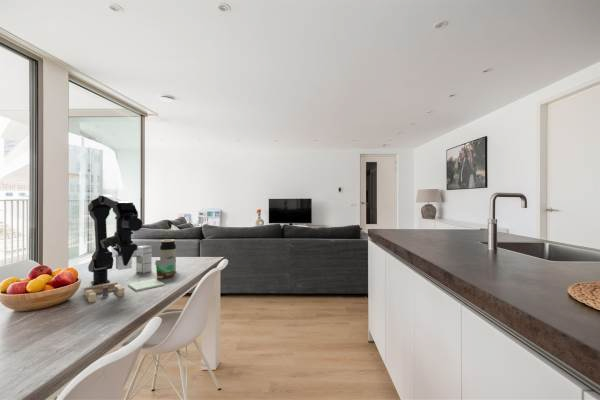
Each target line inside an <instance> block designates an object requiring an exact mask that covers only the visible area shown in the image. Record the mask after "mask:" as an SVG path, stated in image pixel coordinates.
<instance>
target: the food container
mask: <svg viewBox="0 0 600 400" xmlns="http://www.w3.org/2000/svg"><path fill="white" fill-rule="evenodd" d="M176 259H177V257H176V258H175V257H174V256H170V258H168V259H163V260H158V259H157V260H155V264H154V265H155V270H156V280H167V279H171V278H173V277H174V273H175V272H174V264H175V262H176V263H177V260H176Z"/></svg>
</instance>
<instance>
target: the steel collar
mask: <svg viewBox="0 0 600 400" xmlns="http://www.w3.org/2000/svg"><path fill="white" fill-rule="evenodd" d="M132 256H133V255H132ZM132 256H131V258H130V260H129V262H128V264H127V266H124V264H123V258H122V254H118V253H116V254H115V269H116V270H118V271H121V270H122V271H123V270H128V269H129V270H130V269H132V268H133V265H132V264H133V261H132V259H133V257H132Z"/></svg>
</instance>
